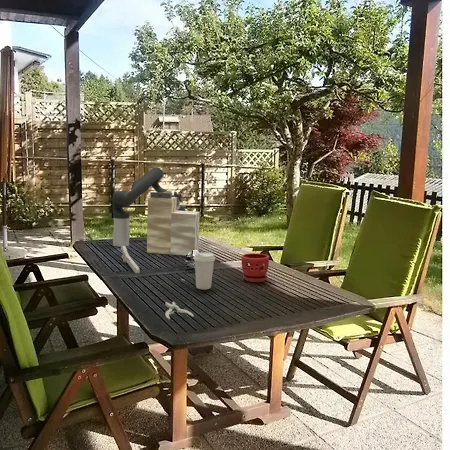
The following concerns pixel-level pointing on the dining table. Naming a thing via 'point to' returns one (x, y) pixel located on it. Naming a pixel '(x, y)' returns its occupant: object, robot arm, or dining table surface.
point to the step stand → (171, 228)
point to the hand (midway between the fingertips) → (167, 192)
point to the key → (161, 195)
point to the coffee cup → (204, 269)
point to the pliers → (174, 306)
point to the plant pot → (255, 267)
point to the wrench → (129, 260)
